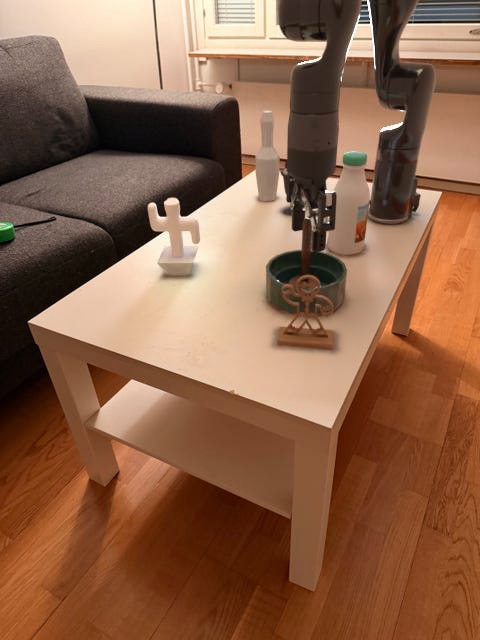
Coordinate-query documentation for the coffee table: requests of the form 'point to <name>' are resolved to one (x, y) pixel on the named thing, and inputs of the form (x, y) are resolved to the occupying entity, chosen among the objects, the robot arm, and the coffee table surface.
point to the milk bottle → (350, 206)
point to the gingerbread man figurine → (303, 335)
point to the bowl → (321, 267)
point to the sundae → (284, 174)
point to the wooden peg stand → (305, 254)
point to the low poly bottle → (267, 161)
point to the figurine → (175, 237)
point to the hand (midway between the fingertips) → (307, 239)
